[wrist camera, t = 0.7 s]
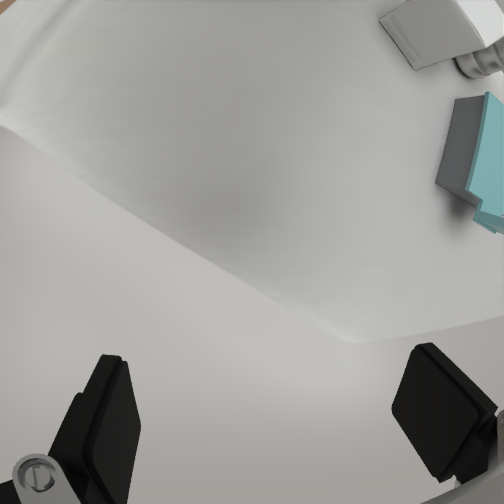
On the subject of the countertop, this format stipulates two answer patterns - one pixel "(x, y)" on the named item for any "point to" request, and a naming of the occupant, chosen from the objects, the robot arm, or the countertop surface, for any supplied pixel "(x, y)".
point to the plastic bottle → (483, 60)
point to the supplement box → (443, 28)
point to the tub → (461, 147)
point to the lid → (489, 167)
